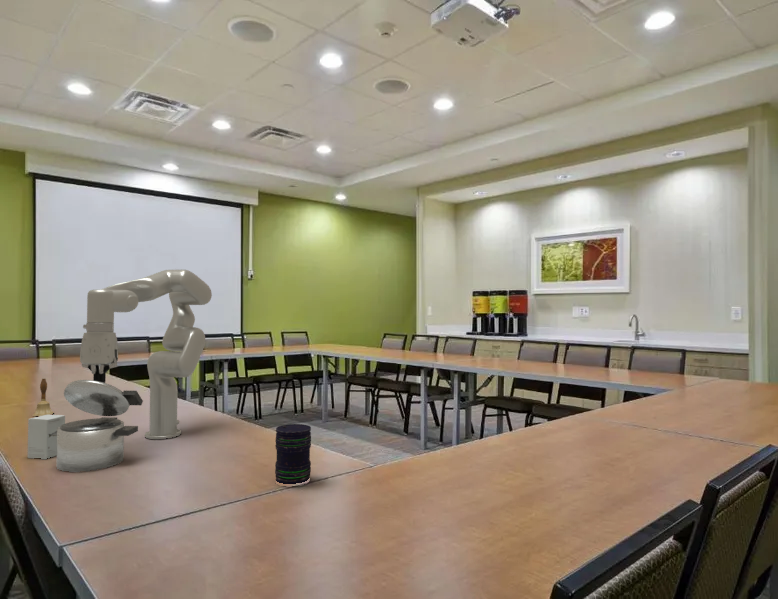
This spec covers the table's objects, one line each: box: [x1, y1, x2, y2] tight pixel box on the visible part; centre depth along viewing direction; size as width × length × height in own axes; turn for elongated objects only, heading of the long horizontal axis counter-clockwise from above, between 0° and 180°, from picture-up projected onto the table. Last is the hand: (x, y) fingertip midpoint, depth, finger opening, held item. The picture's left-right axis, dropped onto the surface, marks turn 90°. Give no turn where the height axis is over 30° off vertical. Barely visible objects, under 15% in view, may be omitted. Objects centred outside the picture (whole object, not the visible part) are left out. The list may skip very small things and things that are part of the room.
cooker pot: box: [55, 416, 139, 473], centre depth 161 cm, size 19×22×12 cm
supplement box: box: [27, 414, 66, 460], centre depth 168 cm, size 7×7×13 cm
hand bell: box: [32, 378, 55, 417], centre depth 229 cm, size 8×8×16 cm
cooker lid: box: [63, 379, 144, 417], centre depth 165 cm, size 19×22×4 cm
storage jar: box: [274, 423, 312, 484], centre depth 145 cm, size 10×10×15 cm
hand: (99, 385), depth 165 cm, fingers closed
